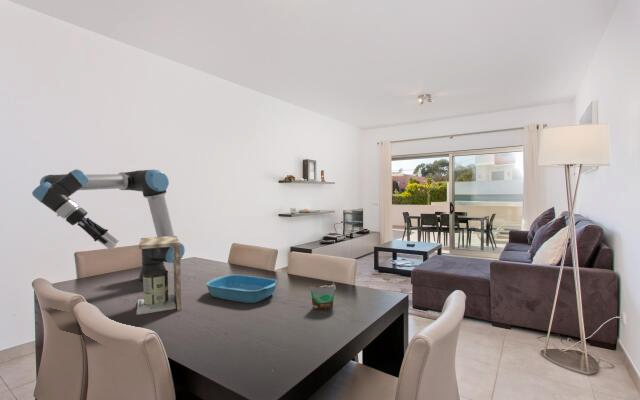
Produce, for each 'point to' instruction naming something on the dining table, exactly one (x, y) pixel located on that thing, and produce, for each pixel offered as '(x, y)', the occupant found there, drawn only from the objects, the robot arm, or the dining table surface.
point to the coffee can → (155, 287)
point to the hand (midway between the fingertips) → (115, 245)
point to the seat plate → (156, 306)
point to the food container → (323, 296)
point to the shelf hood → (173, 242)
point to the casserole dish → (241, 288)
